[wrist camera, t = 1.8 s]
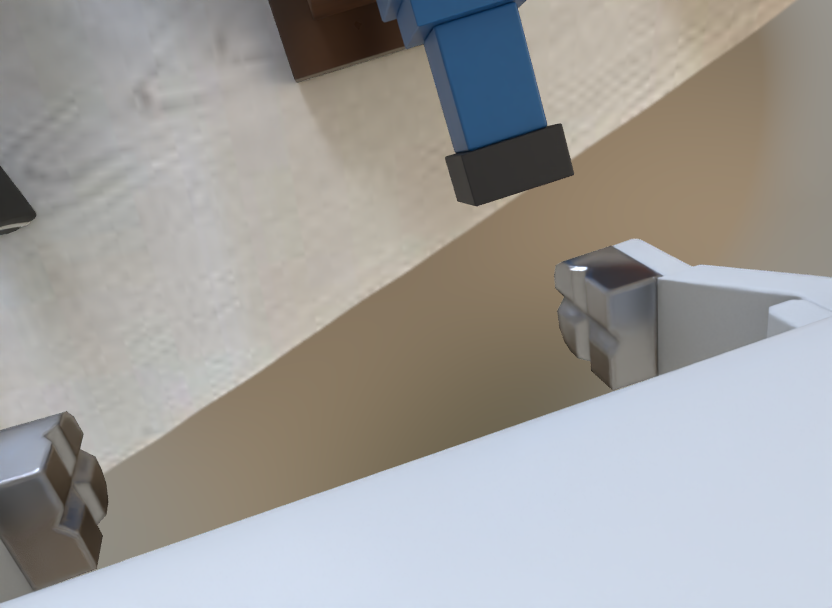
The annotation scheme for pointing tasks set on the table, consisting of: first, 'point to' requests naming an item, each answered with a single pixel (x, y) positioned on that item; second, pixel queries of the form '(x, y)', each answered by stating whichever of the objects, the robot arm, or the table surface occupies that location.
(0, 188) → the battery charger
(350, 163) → the table surface
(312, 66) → the wooden pedestal stand
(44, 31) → the table surface
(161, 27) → the table surface
